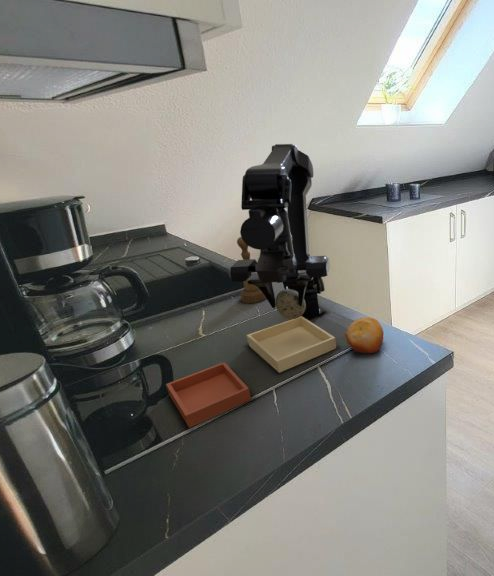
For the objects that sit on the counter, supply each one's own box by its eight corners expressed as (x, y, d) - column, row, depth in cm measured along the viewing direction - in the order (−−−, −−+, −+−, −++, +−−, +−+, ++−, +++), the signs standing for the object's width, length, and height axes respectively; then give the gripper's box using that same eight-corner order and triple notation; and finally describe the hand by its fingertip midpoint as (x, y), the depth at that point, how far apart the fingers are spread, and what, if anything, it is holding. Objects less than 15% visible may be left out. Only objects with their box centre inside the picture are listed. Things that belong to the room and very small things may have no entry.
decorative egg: (276, 310, 91) (262, 293, 82) (298, 293, 93) (286, 275, 84) (292, 328, 90) (280, 314, 81) (314, 311, 92) (304, 295, 83)
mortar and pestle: (251, 305, 111) (238, 241, 104) (236, 300, 114) (223, 238, 107) (271, 296, 116) (260, 235, 109) (257, 292, 119) (245, 232, 112)
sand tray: (248, 345, 90) (246, 335, 89) (303, 325, 99) (301, 315, 98) (279, 372, 80) (277, 361, 79) (336, 348, 89) (335, 337, 88)
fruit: (392, 332, 92) (384, 313, 86) (382, 364, 87) (373, 346, 81) (360, 328, 94) (349, 309, 88) (348, 359, 90) (336, 341, 83)
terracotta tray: (169, 395, 74) (165, 383, 73) (227, 372, 81) (224, 361, 80) (189, 428, 66) (185, 415, 65) (251, 399, 73) (248, 388, 72)
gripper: (209, 248, 71) (228, 327, 77) (318, 243, 73) (328, 321, 79) (231, 232, 81) (246, 303, 87) (325, 228, 83) (334, 297, 89)
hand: (287, 306), depth 85 cm, fingers closed on decorative egg, 5 cm apart
